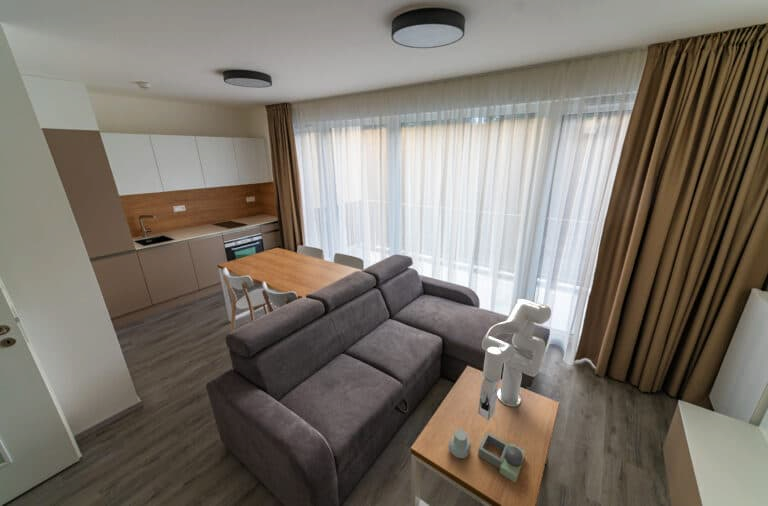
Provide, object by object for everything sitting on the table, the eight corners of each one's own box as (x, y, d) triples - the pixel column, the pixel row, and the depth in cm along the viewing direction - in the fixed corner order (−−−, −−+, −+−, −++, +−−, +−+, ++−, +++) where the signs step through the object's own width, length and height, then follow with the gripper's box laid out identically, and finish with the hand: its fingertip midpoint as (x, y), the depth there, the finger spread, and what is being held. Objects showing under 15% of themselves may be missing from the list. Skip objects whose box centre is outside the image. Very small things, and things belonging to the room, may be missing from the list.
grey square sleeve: (487, 436, 143) (488, 425, 141) (524, 457, 133) (526, 446, 130) (476, 458, 133) (477, 447, 130) (515, 483, 122) (518, 471, 120)
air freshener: (455, 436, 143) (457, 421, 140) (472, 446, 138) (474, 431, 135) (446, 454, 135) (447, 438, 131) (462, 465, 130) (464, 449, 127)
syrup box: (494, 413, 137) (498, 389, 132) (488, 421, 133) (492, 396, 128) (483, 406, 141) (486, 382, 136) (477, 413, 137) (480, 389, 132)
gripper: (490, 359, 138) (486, 389, 143) (475, 380, 125) (472, 412, 131) (506, 366, 133) (502, 397, 139) (493, 388, 121) (488, 421, 126)
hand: (487, 404), depth 135 cm, fingers closed on syrup box, 6 cm apart
